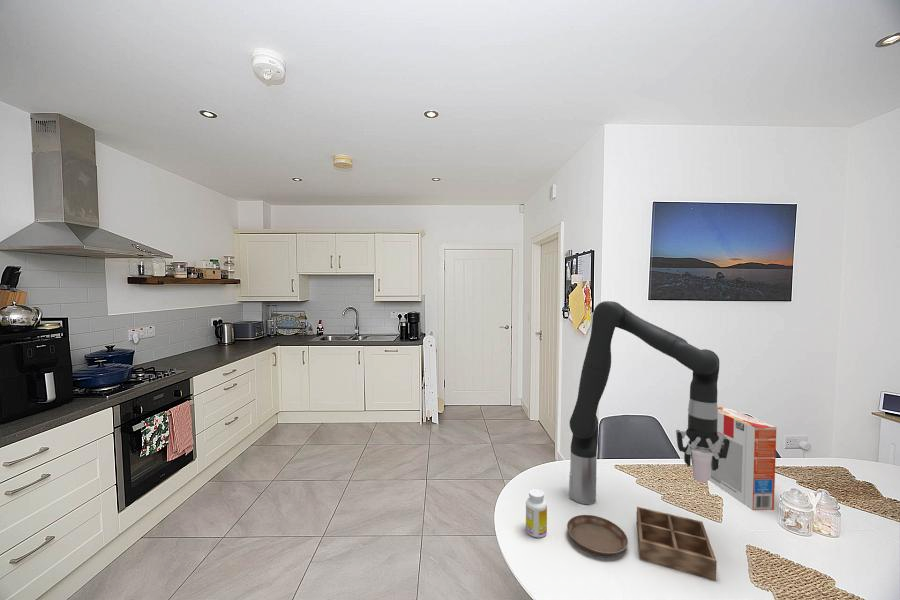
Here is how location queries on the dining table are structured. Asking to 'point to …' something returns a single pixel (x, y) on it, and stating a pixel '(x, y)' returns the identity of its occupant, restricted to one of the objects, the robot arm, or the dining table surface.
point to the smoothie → (701, 463)
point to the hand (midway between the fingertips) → (700, 467)
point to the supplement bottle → (536, 514)
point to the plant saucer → (597, 535)
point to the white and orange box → (746, 459)
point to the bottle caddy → (675, 543)
